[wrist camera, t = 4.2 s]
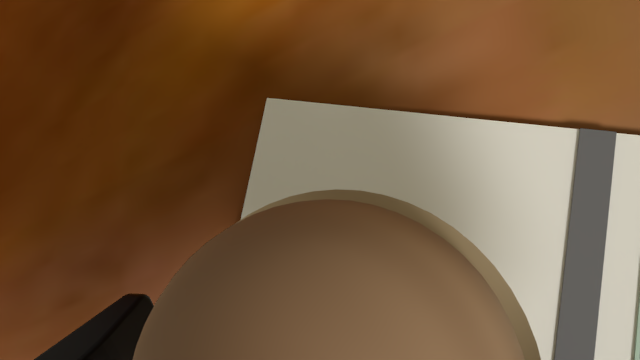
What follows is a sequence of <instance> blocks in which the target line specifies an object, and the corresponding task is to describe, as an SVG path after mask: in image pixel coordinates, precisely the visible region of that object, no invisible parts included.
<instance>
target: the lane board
mask: <svg viewBox="0 0 640 360" xmlns="http://www.w3.org/2000/svg"><path fill="white" fill-rule="evenodd" d="M334 189H339V190H360V191H366V192H371V193H377V194H382V195H386V196H389V197H393V198H396V199H399V200H402V201H405V202H408V203H410V204H413V205H415V206H417V207H419V208H421V209H423V210H425V211H427V212H430V213H432V214H433V215H435V216H436V217H438V218H440V219H441V220H443V221H444V222H446V223H447V224H449V225H451V226H452V227H454V228H455V229H456V230H457V231H459V232H460V233H461V234H462V235H463V236H465V237H466V238H467V239H468V240H469V241H471V242H472V243H473V244H474V245H475V246H476V247H477V248H478V249H479V250H480V251H481V252H482V253H483V254H484V255H485V256H486V257H487V258H488V260H489V261H490V262H491V263H492V264H493V265H494V266H495V267H496V269H497V270H498V271H499V273H500V274H501V276H502V277H503V278H504V280H505V281H506V283H507V284H508V285H509V287H510V288H511V289H512V291H513V293H514V295H515V297H516V299H517V300H518V302H519V304H520V306H521V308H522V309H523V311H524V313H525V315H526V317H527V320H528V322H529V325H530V327H531V330H532V332H533V335H534V337H535V340H536V343H537V346H538V350H539V354H540V358H541V360H640V135H631V134H622V133H617V132H612V131H602V130H592V129H582V128H580V129H572V128H562V127H552V126H542V125H532V124H522V123H512V122H502V121H492V120H483V119H473V118H463V117H453V116H443V115H433V114H423V113H413V112H403V111H393V110H383V109H373V108H363V107H354V106H344V105H334V104H324V103H314V102H304V101H294V100H284V99H274V98H267V100H266V105H265V109H264V114H263V119H262V123H261V128H260V132H259V137H258V142H257V146H256V151H255V155H254V160H253V165H252V169H251V174H250V178H249V183H248V188H247V192H246V197H245V201H244V206H243V211H242V215H241V219H243V218H244V217H245V216H247V215H248V214H250V213H252V212H254V211H256V210H258V209H260V208H262V207H264V206H266V205H268V204H270V203H273V202H276V201H279V200H281V199H284V198H287V197H290V196H294V195H298V194H303V193H307V192H312V191H323V190H334Z"/></svg>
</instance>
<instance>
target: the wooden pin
mask: <svg viewBox="0 0 640 360" xmlns="http://www.w3.org/2000/svg"><path fill="white" fill-rule="evenodd" d="M133 360H541V358H540V354H539V350H538V346H537V343H536V340H535V337H534V335H533V332H532V330H531V327H530V325H529V322H528V320H527V317H526V315H525V313H524V311H523V309H522V308H521V306H520V304H519V302H518V300H517V299H516V297H515V295H514V293H513V291H512V289H511V288H510V287H509V285H508V284H507V283H506V281H505V280H504V278H503V277H502V276H501V274H500V273H499V271H498V270H497V269H496V267H495V266H494V265H493V264H492V263H491V262H490V261H489V260H488V258H487V257H486V256H485V255H484V254H483V253H482V252H481V251H480V250H479V249H478V248H477V247H476V246H475V245H474V244H473V243H472V242H471V241H469V240H468V239H467V238H466V237H465V236H463V235H462V234H461V233H460V232H459V231H457V230H456V229H455V228H454V227H452V226H451V225H449V224H447V223H446V222H444V221H443V220H441V219H440V218H438V217H436V216H435V215H433V214H432V213H430V212H427V211H425V210H423V209H421V208H419V207H417V206H415V205H413V204H410V203H408V202H405V201H402V200H399V199H396V198H393V197H389V196H386V195H382V194H377V193H371V192H366V191H360V190H339V189H334V190H323V191H312V192H307V193H303V194H298V195H294V196H290V197H287V198H284V199H281V200H279V201H276V202H273V203H270V204H268V205H266V206H264V207H262V208H260V209H258V210H256V211H254V212H252V213H250V214H248V215H247V216H245V217H244V218H243V219H241V220H240V221H238V222H237V223H235V224H234V225H232V226H230V227H229V228H227V229H226V230H224V231H223V232H221V233H220V234H218V235H217V236H215V237H214V238H213V239H211V240H210V241H208V242H207V243H206V244H205V245H203V246H202V247H201V248H200V249H199V250H198V251H197V252H196V253H195V254H193V255H192V256H191V257H190V258H189V259H188V260H187V261H186V263H185V264H184V265H183V266H182V267H181V268H180V269H179V271H178V272H177V273H176V274H175V275H174V277H173V278H172V279H171V281H170V282H169V284H168V285H167V287H166V288H165V290H164V291H163V293H162V294H161V296H160V297H159V298H158V300H157V301H156V303H155V305H154V307H153V309H152V311H151V313H150V315H149V316H148V318H147V320H146V322H145V325H144V327H143V330H142V332H141V335H140V337H139V340H138V342H137V345H136V349H135V352H134V356H133Z"/></svg>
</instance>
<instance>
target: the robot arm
mask: <svg viewBox="0 0 640 360" xmlns="http://www.w3.org/2000/svg"><path fill="white" fill-rule="evenodd" d="M153 307H154V306H153V303H152V301H151V299H150V298H149V296H147V295H145V294H127V295H125V296H123V297H122V298H120V299H119V300H117V301H116V302H115V303H113V304H112V305H110V306H109V307H108V308H106V309H105V310H103V311H102V312H101V313H99V314H98V315H96V316H95V317H93V318H92V319H91V320H89V321H88V322H86V323H85V324H84V325H82V326H81V327H79V328H78V329H77V330H75V331H74V332H72V333H71V334H69V335H68V336H67V337H65V338H64V339H62V340H61V341H60V342H58V343H57V344H55V345H54V346H52V347H51V348H50V349H48V350H47V351H45V352H44V353H43V354H41V355H40V356H38V357H37V358H36V359H34V360H133V356H134V352H135V349H136V345H137V342H138V340H139V337H140V335H141V332H142V330H143V327H144V325H145V322H146V320H147V318H148V316H149V315H150V313H151V311H152V309H153Z"/></svg>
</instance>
